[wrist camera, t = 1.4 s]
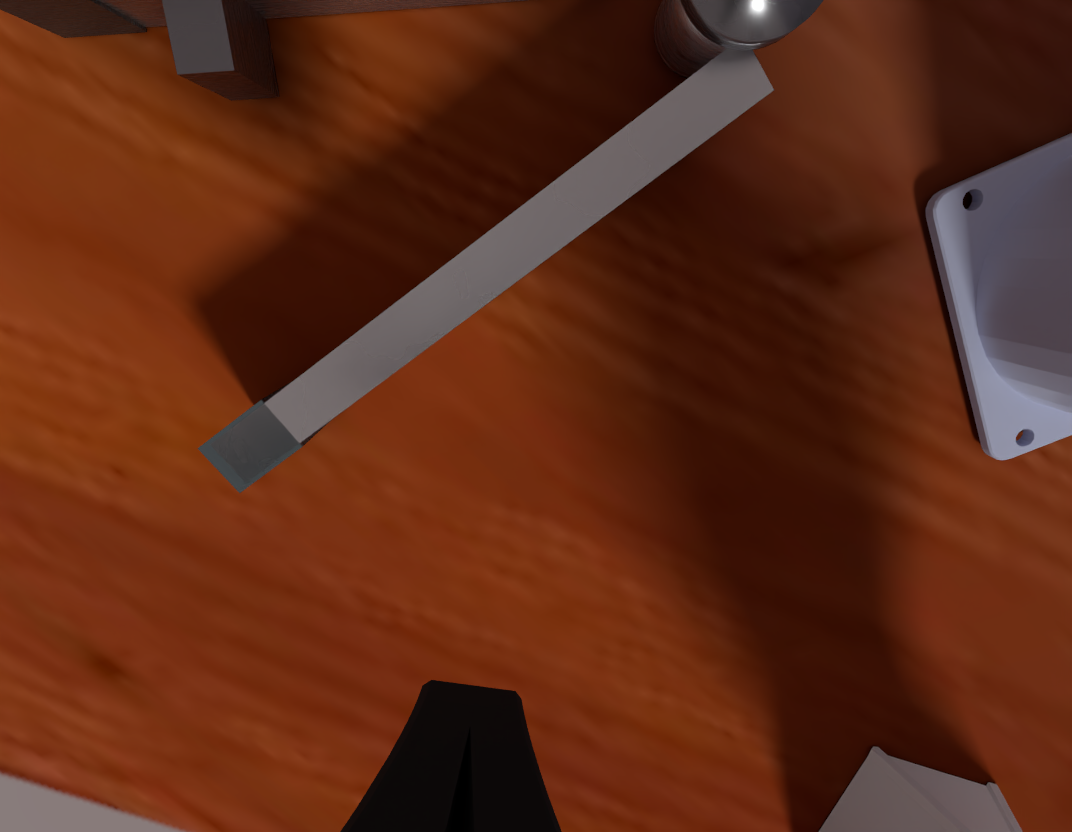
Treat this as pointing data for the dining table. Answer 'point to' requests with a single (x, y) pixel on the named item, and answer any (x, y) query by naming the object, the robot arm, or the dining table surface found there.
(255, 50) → the base
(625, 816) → the dining table surface
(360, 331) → the tong arm
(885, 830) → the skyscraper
